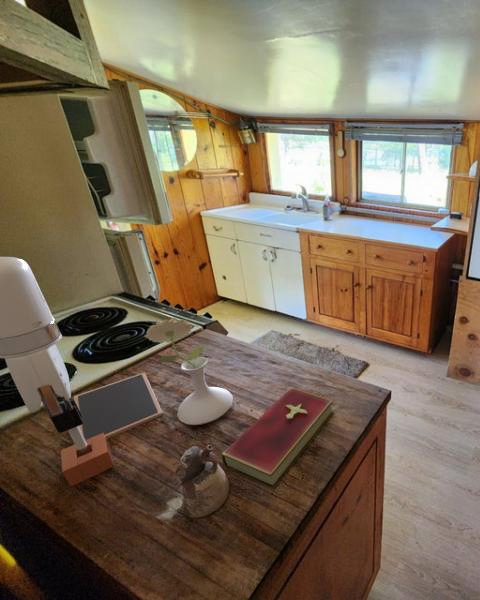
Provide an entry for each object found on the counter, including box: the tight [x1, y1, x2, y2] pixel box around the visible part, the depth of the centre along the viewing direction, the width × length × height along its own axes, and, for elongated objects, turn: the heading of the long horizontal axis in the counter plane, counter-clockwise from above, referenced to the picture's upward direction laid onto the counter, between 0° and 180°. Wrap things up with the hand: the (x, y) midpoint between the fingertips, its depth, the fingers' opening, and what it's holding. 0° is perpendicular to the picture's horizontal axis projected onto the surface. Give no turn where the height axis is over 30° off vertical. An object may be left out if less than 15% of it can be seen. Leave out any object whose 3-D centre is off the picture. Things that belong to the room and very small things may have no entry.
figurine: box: [175, 444, 230, 519], centre depth 56 cm, size 7×7×12 cm
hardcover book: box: [220, 386, 335, 490], centre depth 70 cm, size 12×21×4 cm, turn 159°
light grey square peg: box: [59, 401, 87, 451], centre depth 58 cm, size 1×1×12 cm
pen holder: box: [60, 433, 115, 487], centre depth 62 cm, size 6×6×4 cm
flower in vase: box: [144, 317, 234, 426], centre depth 71 cm, size 13×11×25 cm
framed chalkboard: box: [73, 372, 164, 440], centre depth 77 cm, size 14×20×1 cm
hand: (70, 424), depth 58 cm, fingers closed on light grey square peg, 1 cm apart
